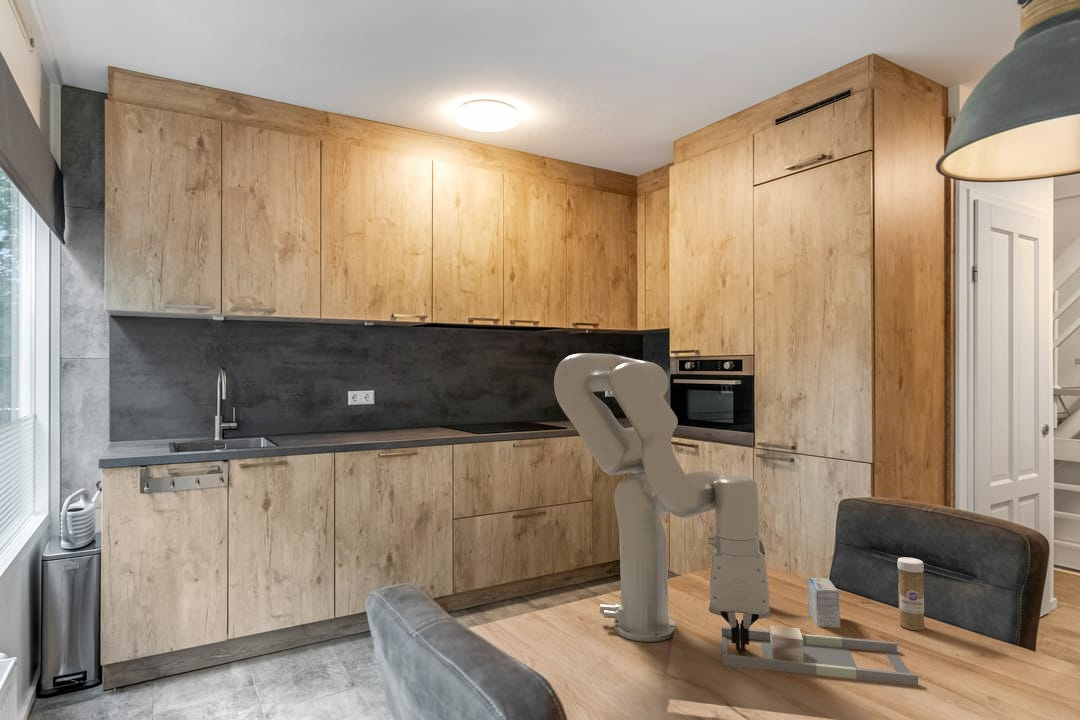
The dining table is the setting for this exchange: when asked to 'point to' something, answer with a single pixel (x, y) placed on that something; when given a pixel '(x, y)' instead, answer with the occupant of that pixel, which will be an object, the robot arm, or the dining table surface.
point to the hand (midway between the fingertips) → (740, 647)
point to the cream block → (786, 643)
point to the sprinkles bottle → (911, 593)
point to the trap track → (823, 658)
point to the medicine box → (823, 602)
